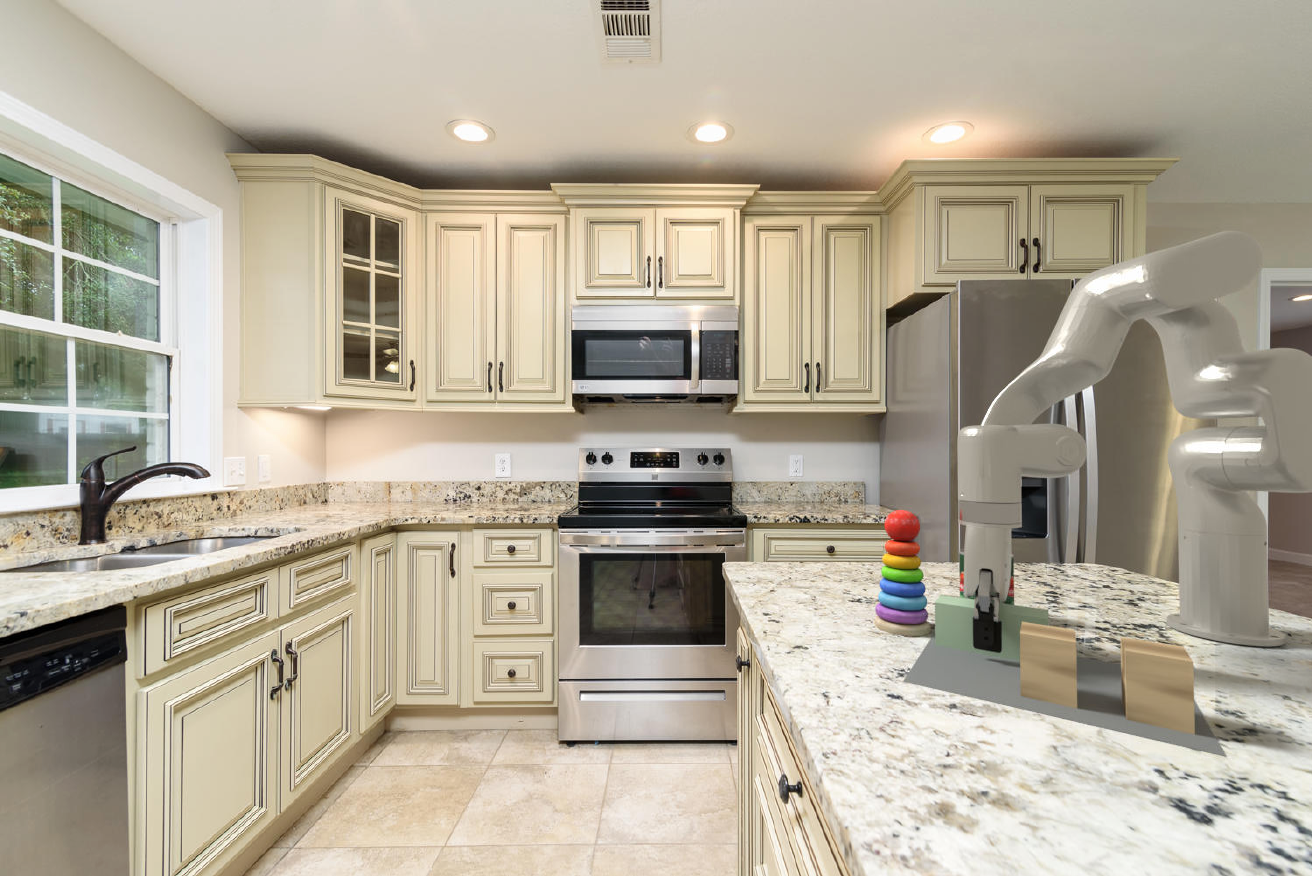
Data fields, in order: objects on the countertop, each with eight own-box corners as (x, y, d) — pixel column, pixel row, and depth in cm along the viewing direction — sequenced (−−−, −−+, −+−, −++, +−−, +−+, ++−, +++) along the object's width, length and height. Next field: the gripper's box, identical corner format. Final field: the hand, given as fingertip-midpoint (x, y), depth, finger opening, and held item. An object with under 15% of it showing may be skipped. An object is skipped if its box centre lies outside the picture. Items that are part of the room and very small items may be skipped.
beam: (941, 635, 81) (940, 594, 81) (1049, 654, 73) (1048, 609, 73) (935, 645, 77) (934, 602, 77) (1048, 666, 69) (1048, 619, 69)
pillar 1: (1022, 680, 65) (1021, 621, 65) (1075, 691, 62) (1074, 629, 62) (1020, 696, 61) (1019, 633, 61) (1077, 708, 58) (1076, 642, 58)
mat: (935, 635, 83) (935, 631, 83) (1180, 679, 67) (1179, 674, 67) (903, 686, 65) (903, 681, 65) (1226, 763, 49) (1226, 756, 49)
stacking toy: (937, 642, 80) (936, 513, 80) (879, 638, 81) (878, 512, 82) (922, 625, 88) (921, 508, 88) (870, 622, 89) (869, 507, 90)
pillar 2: (1121, 701, 60) (1120, 637, 60) (1184, 714, 57) (1183, 646, 57) (1126, 719, 56) (1125, 650, 56) (1194, 734, 53) (1193, 661, 53)
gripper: (966, 507, 85) (967, 619, 84) (948, 518, 71) (950, 653, 70) (1024, 510, 80) (1026, 628, 80) (1018, 523, 66) (1020, 666, 66)
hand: (990, 639), depth 75 cm, fingers open, 8 cm apart
